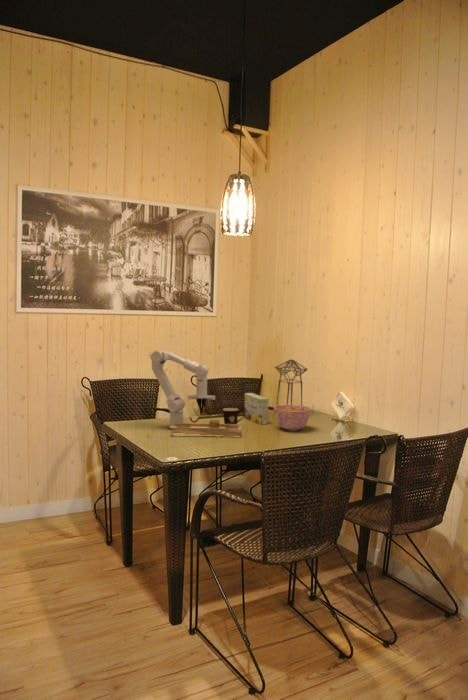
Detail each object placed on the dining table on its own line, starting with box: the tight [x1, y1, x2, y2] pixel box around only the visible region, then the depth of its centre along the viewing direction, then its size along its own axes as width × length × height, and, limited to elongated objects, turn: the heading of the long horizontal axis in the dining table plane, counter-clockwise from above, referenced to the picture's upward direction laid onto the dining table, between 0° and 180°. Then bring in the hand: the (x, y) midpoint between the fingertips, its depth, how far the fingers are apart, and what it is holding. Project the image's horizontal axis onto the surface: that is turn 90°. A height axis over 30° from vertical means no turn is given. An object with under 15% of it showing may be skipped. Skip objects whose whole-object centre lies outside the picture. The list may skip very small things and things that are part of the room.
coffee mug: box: [222, 407, 245, 424], centre depth 305 cm, size 12×9×10 cm
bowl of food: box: [273, 404, 311, 432], centre depth 302 cm, size 20×20×12 cm
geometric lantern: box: [274, 359, 308, 407], centre depth 335 cm, size 16×16×35 cm
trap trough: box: [171, 422, 242, 437], centre depth 288 cm, size 11×36×4 cm, turn 89°
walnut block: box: [208, 419, 220, 428], centre depth 288 cm, size 5×5×4 cm
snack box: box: [244, 392, 269, 426], centre depth 322 cm, size 21×6×15 cm, turn 25°
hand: (201, 412), depth 298 cm, fingers closed
